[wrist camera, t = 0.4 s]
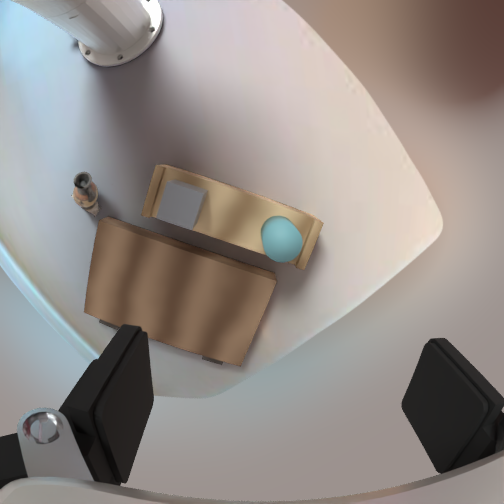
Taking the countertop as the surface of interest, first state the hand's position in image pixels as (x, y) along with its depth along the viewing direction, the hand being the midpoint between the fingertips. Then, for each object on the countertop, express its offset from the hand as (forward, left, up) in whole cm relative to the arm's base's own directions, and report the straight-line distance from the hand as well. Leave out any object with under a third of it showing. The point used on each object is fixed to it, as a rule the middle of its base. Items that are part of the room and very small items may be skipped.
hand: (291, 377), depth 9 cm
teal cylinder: (+3, -1, -28) cm, 28 cm away
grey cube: (-8, -1, -28) cm, 29 cm away
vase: (-22, -4, -32) cm, 39 cm away
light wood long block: (-3, -1, -32) cm, 32 cm away
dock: (-7, -14, -32) cm, 35 cm away
